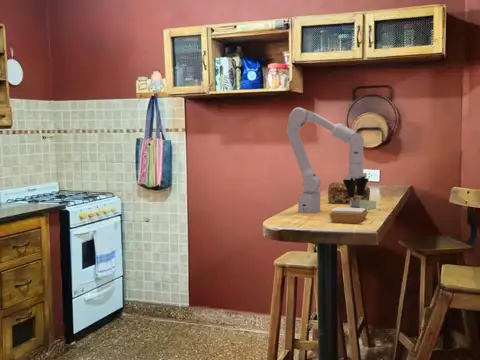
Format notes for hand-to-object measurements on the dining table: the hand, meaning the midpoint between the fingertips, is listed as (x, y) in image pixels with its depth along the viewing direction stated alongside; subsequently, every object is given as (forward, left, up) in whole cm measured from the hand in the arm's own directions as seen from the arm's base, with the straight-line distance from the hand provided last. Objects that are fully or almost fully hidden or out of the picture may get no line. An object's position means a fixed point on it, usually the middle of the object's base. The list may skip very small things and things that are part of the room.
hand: (355, 196), depth 228 cm
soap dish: (-18, -7, -8) cm, 21 cm away
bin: (+14, +4, -8) cm, 16 cm away
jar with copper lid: (0, 0, -7) cm, 7 cm away
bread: (+34, +22, -8) cm, 41 cm away
